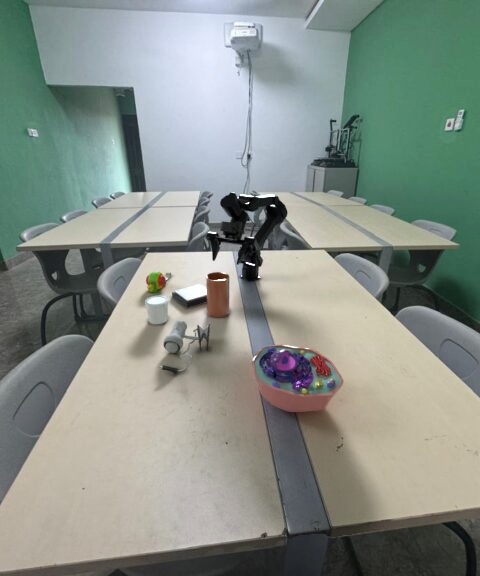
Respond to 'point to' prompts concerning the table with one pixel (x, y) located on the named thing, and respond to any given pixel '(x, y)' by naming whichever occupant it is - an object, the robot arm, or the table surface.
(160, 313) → the white cylinder
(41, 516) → the table surface
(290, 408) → the cell model
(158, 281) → the toy measuring tape
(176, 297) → the scale
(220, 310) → the cup
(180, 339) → the clip-on lamp
